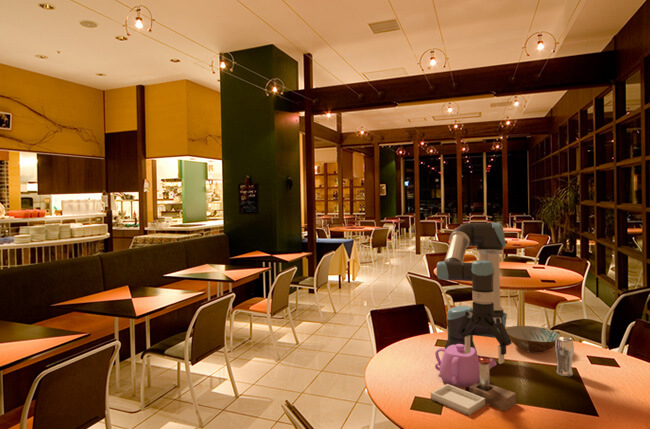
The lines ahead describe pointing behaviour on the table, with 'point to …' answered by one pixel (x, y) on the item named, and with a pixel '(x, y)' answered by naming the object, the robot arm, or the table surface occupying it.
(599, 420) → the table surface
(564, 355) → the beer glass
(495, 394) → the block
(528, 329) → the bowl
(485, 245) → the robot arm
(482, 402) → the tray
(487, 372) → the red capped grey tube
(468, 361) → the teapot
